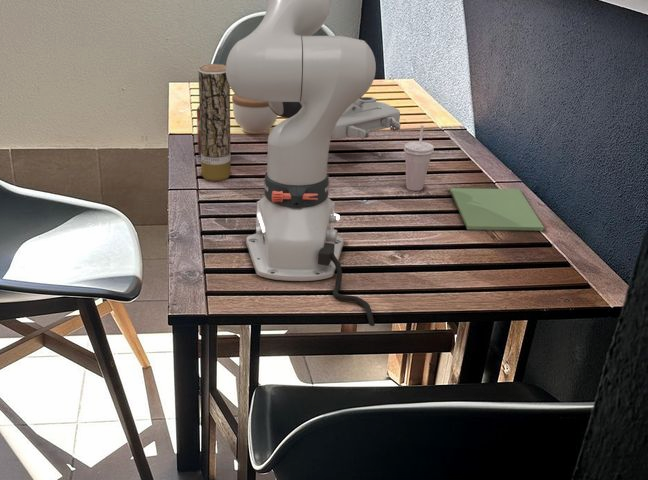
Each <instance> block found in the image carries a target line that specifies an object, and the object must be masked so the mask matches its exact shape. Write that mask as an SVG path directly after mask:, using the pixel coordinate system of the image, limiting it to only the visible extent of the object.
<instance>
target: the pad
mask: <svg viewBox="0 0 648 480" xmlns="http://www.w3.org/2000/svg"><path fill="white" fill-rule="evenodd" d="M449 192H450V195H451V197H452V199H453V202H454V204H455V206H456V208H457V210H458V212H459V215H460V217H461V219H462V221H463V224H464V226H465V228H466V230H467V231H468V230H473V231H475V230H476V231H477V230H479V231H488V230H489V231H532V232H533V231H537V232H539V231H540V232H544V229H545V227H544V225H543V224H542V222H541V221H540V219H539V217H538V216H537V214H536V212H535V211H534V209H533V208H532V205H530V203H529V201H528V200H527V198H526V197H525V195H524V194H523V192H522V190H521V189H520V188H464V187H463V188H462V187H461V188H460V187H457V188H455V187H451V188H450V189H449Z"/></svg>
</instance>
